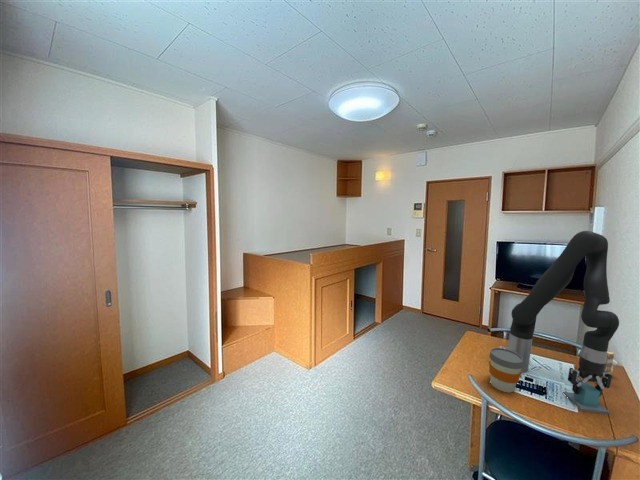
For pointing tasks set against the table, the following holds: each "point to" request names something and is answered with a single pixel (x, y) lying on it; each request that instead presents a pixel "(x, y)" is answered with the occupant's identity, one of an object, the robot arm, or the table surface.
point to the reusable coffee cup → (505, 369)
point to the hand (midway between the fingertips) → (586, 394)
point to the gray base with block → (584, 407)
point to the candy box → (609, 362)
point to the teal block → (588, 395)
